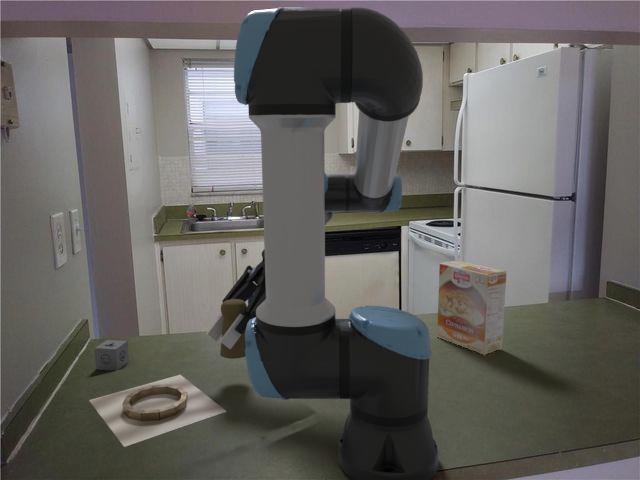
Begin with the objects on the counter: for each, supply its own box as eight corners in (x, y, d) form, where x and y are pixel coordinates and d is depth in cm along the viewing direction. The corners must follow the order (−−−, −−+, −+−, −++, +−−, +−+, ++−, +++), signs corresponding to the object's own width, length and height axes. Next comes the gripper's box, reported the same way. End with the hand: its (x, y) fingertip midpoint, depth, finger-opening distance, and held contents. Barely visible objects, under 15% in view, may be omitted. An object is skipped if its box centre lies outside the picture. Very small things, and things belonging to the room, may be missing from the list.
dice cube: (96, 369, 113) (94, 348, 113) (108, 360, 118) (106, 340, 117) (117, 371, 113) (115, 349, 112) (128, 362, 118) (127, 341, 117)
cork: (244, 359, 101) (242, 305, 100) (215, 357, 102) (213, 303, 101) (254, 349, 107) (253, 297, 106) (226, 347, 108) (225, 295, 107)
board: (226, 417, 92) (226, 411, 92) (124, 453, 81) (124, 446, 81) (180, 379, 108) (180, 374, 108) (89, 406, 97) (88, 400, 97)
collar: (197, 407, 93) (197, 400, 93) (136, 427, 87) (135, 419, 86) (172, 386, 102) (172, 379, 102) (115, 403, 95) (115, 395, 95)
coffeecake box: (435, 337, 132) (438, 262, 129) (455, 332, 136) (458, 259, 133) (483, 356, 120) (487, 274, 116) (503, 350, 123) (507, 270, 120)
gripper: (322, 267, 105) (254, 364, 97) (272, 255, 119) (209, 339, 111) (300, 244, 101) (227, 343, 93) (252, 234, 115) (185, 320, 107)
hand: (218, 341), depth 102 cm, fingers closed on cork, 5 cm apart
